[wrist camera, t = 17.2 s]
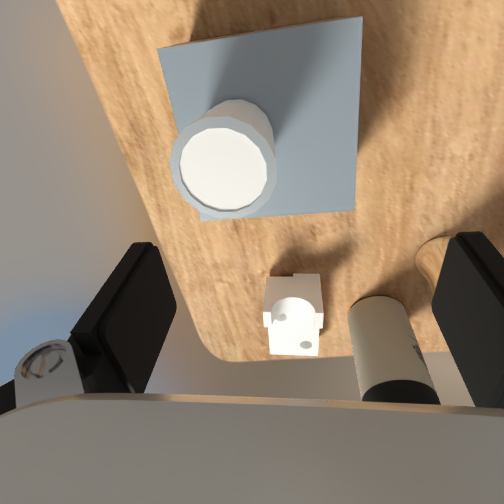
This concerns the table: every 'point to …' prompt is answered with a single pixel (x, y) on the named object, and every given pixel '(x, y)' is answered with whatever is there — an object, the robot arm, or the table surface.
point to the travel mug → (388, 354)
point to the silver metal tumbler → (432, 259)
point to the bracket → (293, 314)
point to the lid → (284, 104)
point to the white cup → (226, 160)
